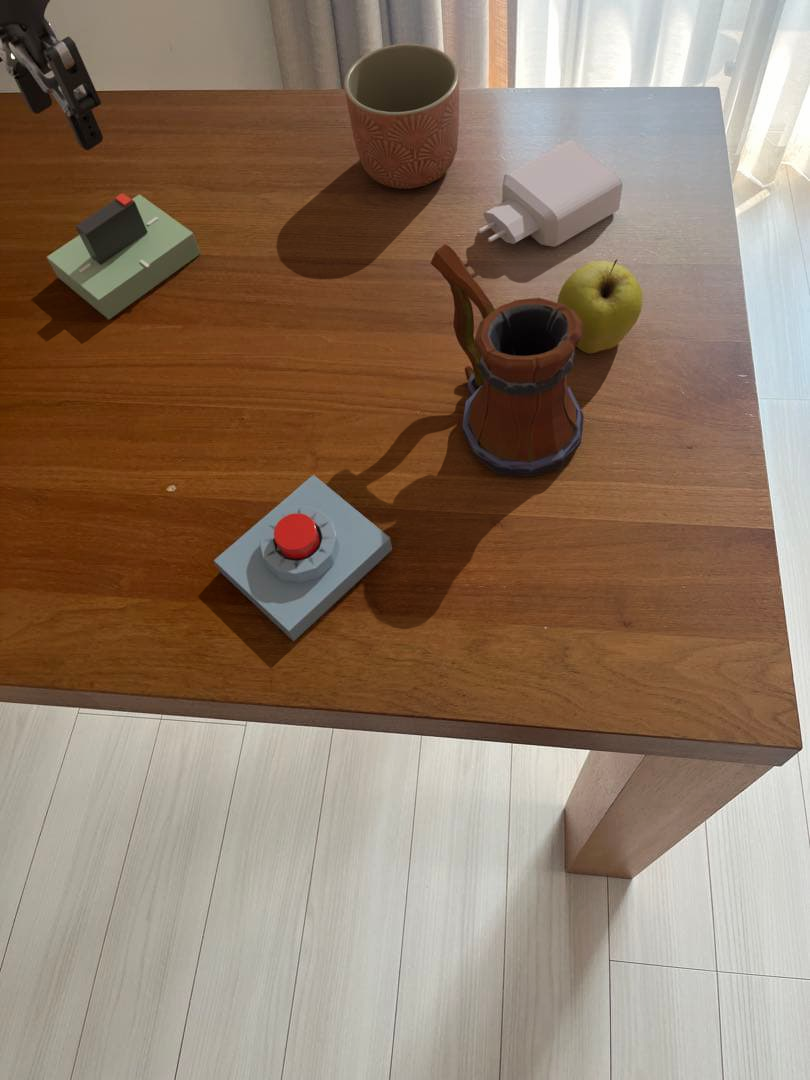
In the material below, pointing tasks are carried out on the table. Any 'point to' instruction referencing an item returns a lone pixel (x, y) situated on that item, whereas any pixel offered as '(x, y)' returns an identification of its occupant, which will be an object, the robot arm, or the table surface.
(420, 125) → the planter
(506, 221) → the charger
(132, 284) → the panel
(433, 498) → the table surface
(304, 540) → the button
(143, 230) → the dark gray bar
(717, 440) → the table surface
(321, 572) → the button box
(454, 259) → the mug
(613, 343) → the apple
